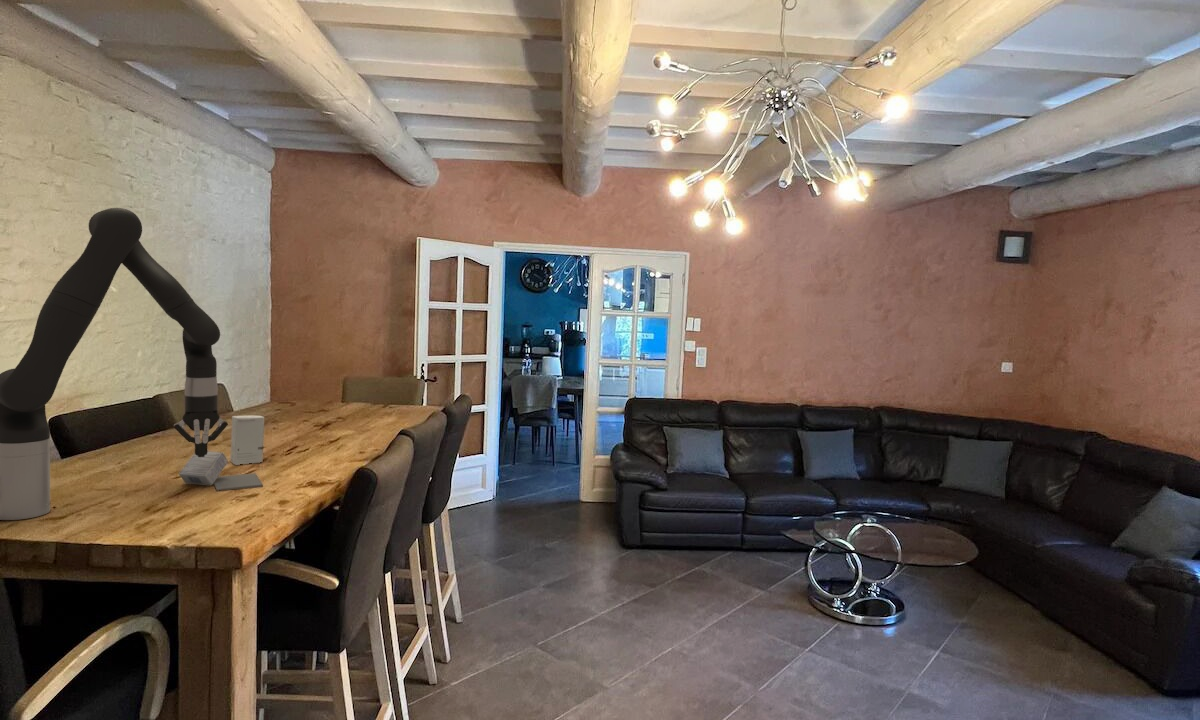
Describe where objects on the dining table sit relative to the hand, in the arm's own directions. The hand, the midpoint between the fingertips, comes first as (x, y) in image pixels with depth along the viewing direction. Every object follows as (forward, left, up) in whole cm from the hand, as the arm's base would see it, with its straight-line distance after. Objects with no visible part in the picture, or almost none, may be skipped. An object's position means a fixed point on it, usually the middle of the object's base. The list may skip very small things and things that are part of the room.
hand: (201, 456), depth 172 cm
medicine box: (-1, 0, -7) cm, 7 cm away
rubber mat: (+9, 0, -8) cm, 12 cm away
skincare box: (+14, +25, -9) cm, 30 cm away
